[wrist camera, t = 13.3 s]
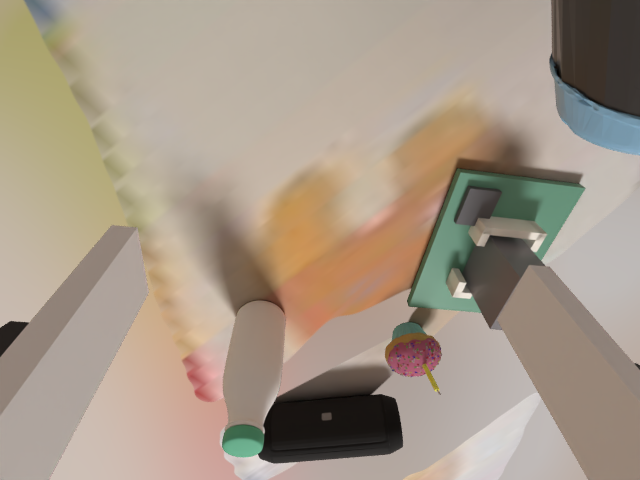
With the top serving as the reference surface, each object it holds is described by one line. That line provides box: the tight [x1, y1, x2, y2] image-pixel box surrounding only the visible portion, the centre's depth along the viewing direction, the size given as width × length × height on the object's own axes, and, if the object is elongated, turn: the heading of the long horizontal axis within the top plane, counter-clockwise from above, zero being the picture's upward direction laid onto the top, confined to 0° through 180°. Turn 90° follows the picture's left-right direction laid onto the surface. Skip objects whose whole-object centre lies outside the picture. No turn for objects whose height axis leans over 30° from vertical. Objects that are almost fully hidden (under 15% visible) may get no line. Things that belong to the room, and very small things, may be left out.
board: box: [407, 168, 585, 313], centre depth 49 cm, size 22×16×4 cm
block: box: [462, 235, 545, 330], centre depth 46 cm, size 9×4×10 cm, turn 172°
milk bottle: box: [222, 300, 286, 457], centre depth 49 cm, size 8×8×20 cm
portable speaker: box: [258, 394, 403, 463], centre depth 67 cm, size 26×10×10 cm, turn 97°
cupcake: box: [385, 322, 442, 395], centre depth 55 cm, size 9×8×12 cm
